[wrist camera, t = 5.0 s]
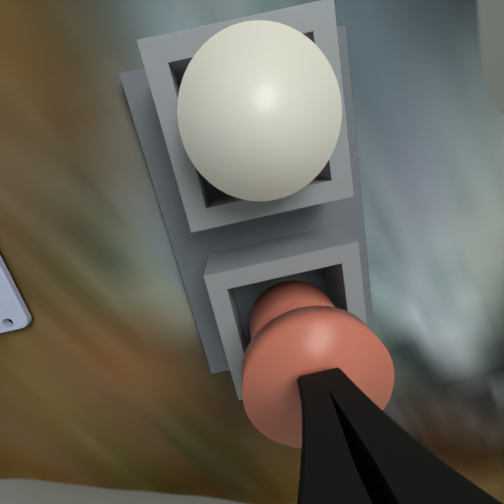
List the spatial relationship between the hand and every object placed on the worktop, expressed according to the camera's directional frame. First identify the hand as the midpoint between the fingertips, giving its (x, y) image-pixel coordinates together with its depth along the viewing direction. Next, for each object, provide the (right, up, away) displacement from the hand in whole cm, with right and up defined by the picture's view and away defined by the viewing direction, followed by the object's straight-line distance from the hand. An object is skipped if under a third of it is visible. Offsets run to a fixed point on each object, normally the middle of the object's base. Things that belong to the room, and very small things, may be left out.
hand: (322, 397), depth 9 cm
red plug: (0, +1, +5) cm, 5 cm away
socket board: (-1, +6, +6) cm, 9 cm away
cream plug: (-2, +10, +4) cm, 11 cm away
